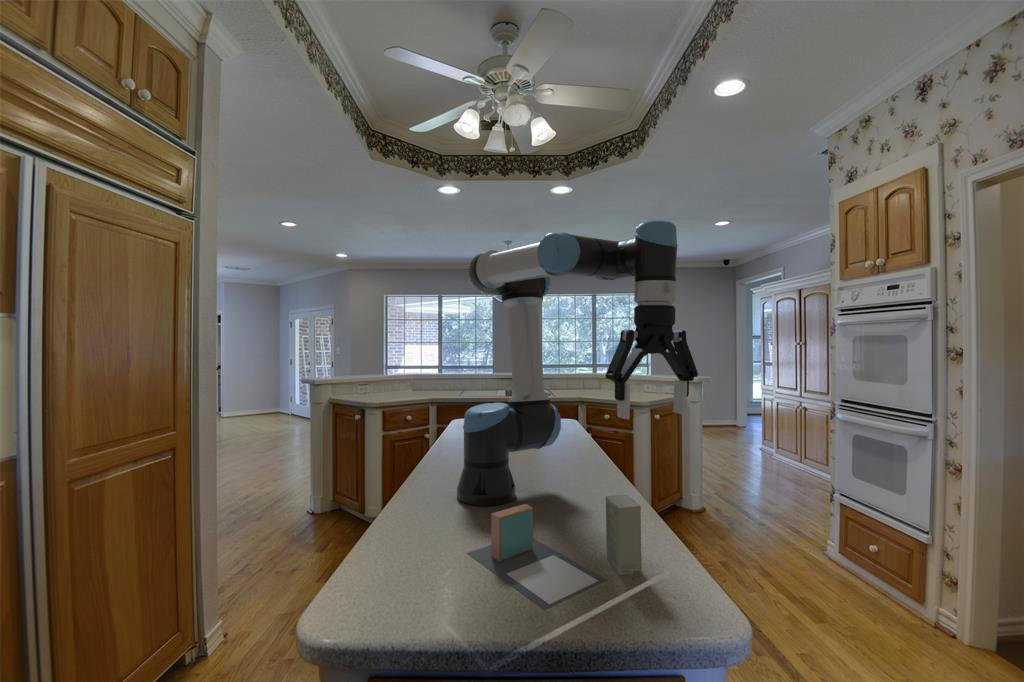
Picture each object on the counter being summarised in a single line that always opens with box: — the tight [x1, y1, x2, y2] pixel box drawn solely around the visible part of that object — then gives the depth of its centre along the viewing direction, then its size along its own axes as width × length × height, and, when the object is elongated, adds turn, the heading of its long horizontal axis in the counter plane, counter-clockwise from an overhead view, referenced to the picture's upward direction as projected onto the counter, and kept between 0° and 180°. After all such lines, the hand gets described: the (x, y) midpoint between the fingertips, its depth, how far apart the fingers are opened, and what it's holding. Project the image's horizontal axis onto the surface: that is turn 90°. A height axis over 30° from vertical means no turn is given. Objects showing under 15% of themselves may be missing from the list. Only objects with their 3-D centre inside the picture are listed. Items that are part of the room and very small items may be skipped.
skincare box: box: [605, 494, 643, 576], centre depth 81 cm, size 6×4×12 cm
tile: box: [490, 503, 534, 561], centre depth 85 cm, size 3×8×8 cm, turn 127°
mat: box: [466, 538, 608, 611], centre depth 81 cm, size 22×14×1 cm, turn 37°
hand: (652, 415), depth 87 cm, fingers open, 13 cm apart
